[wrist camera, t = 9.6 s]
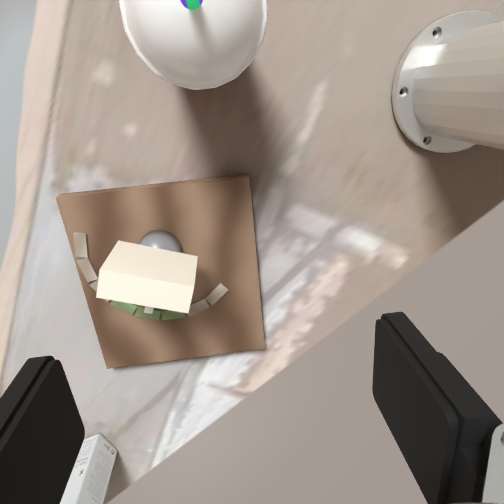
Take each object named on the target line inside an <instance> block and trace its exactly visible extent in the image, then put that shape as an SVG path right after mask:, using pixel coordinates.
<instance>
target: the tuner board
mask: <svg viewBox="0 0 504 504" xmlns="http://www.w3.org/2000/svg"><path fill="white" fill-rule="evenodd" d="M56 200H57V203H58V206H59V210H60V213H61V216H62V220H63V223H64V226H65V230H66V233H67V236H68V240H69V243H70V246H71V250H72V253H73V256H74V260H75V263H76V266H77V270H78V273H79V276H80V280H81V283H82V286H83V290H84V293H85V296H86V300H87V303H88V306H89V310H90V313H91V316H92V320H93V323H94V326H95V330H96V333H97V336H98V340H99V343H100V346H101V350H102V353H103V356H104V360H105V363H106V366H107V369H109V368H116V367H124V366H132V365H140V364H148V363H156V362H163V361H171V360H179V359H187V358H195V357H203V356H211V355H218V354H226V353H234V352H242V351H250V350H258V349H265V343H264V332H263V321H262V310H261V299H260V288H259V277H258V266H257V255H256V244H255V233H254V222H253V211H252V200H251V189H250V178H249V175H248V174H245V175H235V176H226V177H216V178H207V179H198V180H188V181H179V182H169V183H160V184H151V185H141V186H132V187H122V188H113V189H103V190H94V191H85V192H75V193H66V194H61V195H59V196H58V197H56ZM153 230H165V231H168V232H170V233H172V234H173V235H175V236H176V237H177V239H178V240H179V242H180V244H181V248H182V252H181V253H184V254H189V255H194V256H198V258H197V267H196V276H195V285H194V291H193V295H192V299H191V304H190V308H189V312H188V313H183V312H177V311H171V310H166V309H160V308H154V309H153V313H152V314H150V313H144V310H145V306H142V305H137V304H131V303H125V302H119V301H114V300H108V299H102V298H96V294H97V286H98V278H99V270H100V268H101V267H102V265H103V263H104V262H105V260H106V259H107V257H108V256H109V254H110V253H111V251H112V250H113V248H114V246H115V245H116V243H117V242H118V240H119V241H124V242H129V243H134V244H139V242H140V240H141V239H142V237H143V236H144V235H145V234H147V233H148V232H150V231H153Z"/></svg>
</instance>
